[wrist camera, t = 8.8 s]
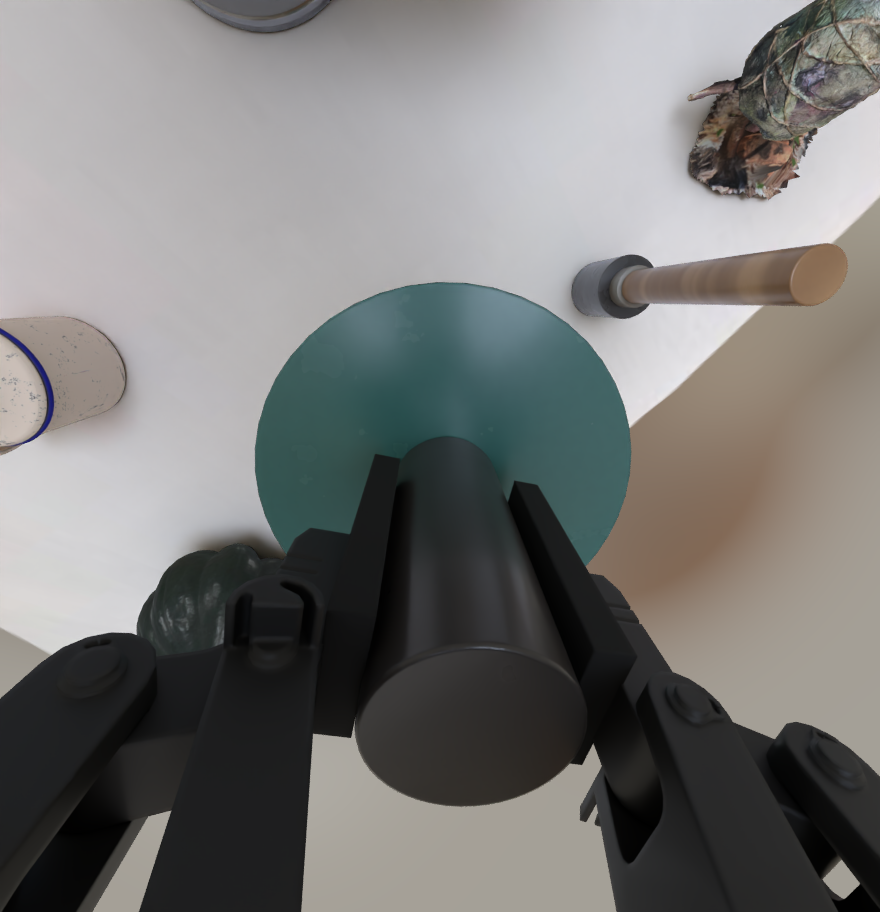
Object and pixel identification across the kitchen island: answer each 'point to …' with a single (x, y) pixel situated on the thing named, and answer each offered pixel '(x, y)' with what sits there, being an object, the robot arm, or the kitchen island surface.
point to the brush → (711, 281)
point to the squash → (198, 598)
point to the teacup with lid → (53, 376)
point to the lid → (453, 520)
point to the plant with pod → (788, 96)
